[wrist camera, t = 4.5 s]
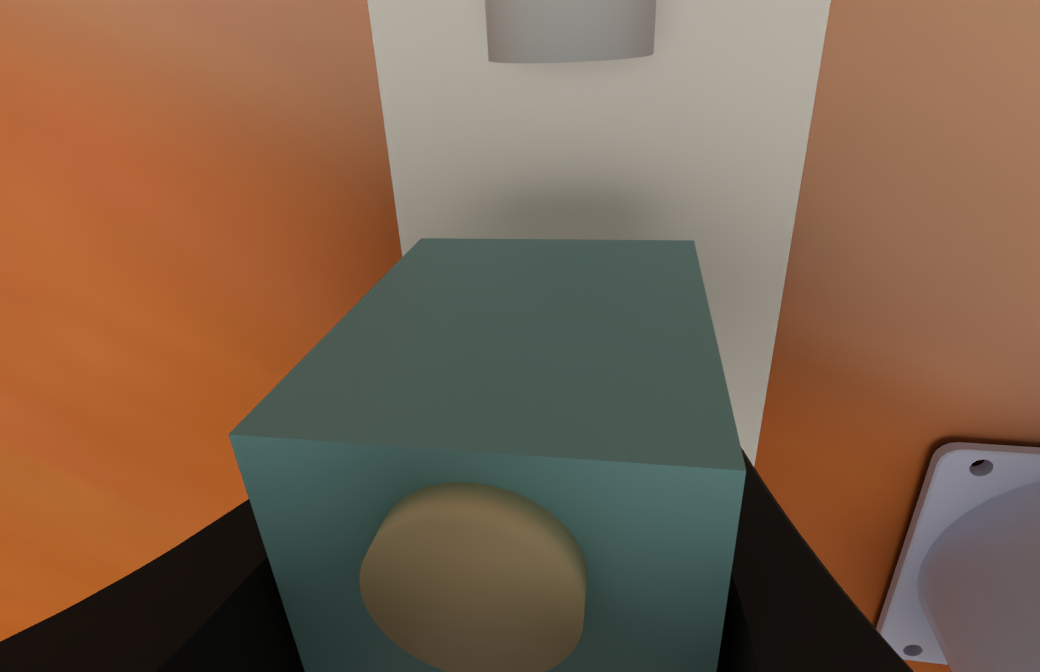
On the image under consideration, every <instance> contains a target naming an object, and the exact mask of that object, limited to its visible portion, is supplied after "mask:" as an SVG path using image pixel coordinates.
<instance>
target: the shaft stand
mask: <svg viewBox="0 0 1040 672" xmlns="http://www.w3.org/2000/svg"><path fill="white" fill-rule="evenodd" d="M830 3H831V0H368V8H369V15H370V23H371V30H372V37H373V45H374V52H375V59H376V67H377V74H378V82H379V89H380V96H381V104H382V111H383V118H384V126H385V133H386V141H387V148H388V155H389V163H390V170H391V177H392V185H393V192H394V200H395V207H396V214H397V222H398V229H399V237H400V244H401V251H402V257H403V256H404V255H405V254H406V253H407V252H408V251H409V250H410V249H411V248H412V247H413V246H414V245H415V244H416V243H417V242H418V241H419V240H420V239H421V238H454V239H579V240H694V243H695V247H696V252H697V256H698V261H699V265H700V269H701V274H702V278H703V283H704V287H705V291H706V296H707V300H708V305H709V309H710V313H711V318H712V322H713V327H714V331H715V335H716V340H717V344H718V349H719V353H720V357H721V362H722V366H723V371H724V375H725V380H726V384H727V388H728V393H729V397H730V402H731V406H732V410H733V415H734V419H735V424H736V428H737V432H738V437H739V441H740V446H741V448H742V449H743V450H744V452H745V453H746V455H747V457H748V458H749V460H750V462H751V463H752V465H753V466H754V465H755V459H756V453H757V447H758V441H759V434H760V428H761V422H762V416H763V410H764V404H765V398H766V392H767V386H768V380H769V374H770V368H771V361H772V355H773V349H774V343H775V337H776V331H777V325H778V319H779V313H780V307H781V301H782V295H783V288H784V282H785V276H786V270H787V264H788V258H789V252H790V246H791V240H792V234H793V228H794V222H795V215H796V209H797V203H798V197H799V191H800V185H801V179H802V173H803V167H804V161H805V155H806V149H807V142H808V136H809V130H810V124H811V118H812V112H813V106H814V100H815V94H816V88H817V82H818V76H819V69H820V63H821V57H822V51H823V45H824V39H825V33H826V27H827V21H828V15H829V9H830Z"/></svg>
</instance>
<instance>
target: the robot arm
mask: <svg viewBox="0 0 1040 672" xmlns="http://www.w3.org/2000/svg"><path fill="white" fill-rule="evenodd" d="M741 450H742V454H743V459H744V463H745V468H746V476H745V483H744V489H743V496H742V503H741V510H740V517H739V523H738V530H737V537H736V544H735V550H734V557H733V564H732V571H731V577H730V584H729V591H728V598H727V605H726V611H725V618H724V625H723V632H722V638H721V645H720V652H719V659H718V665H717V672H913V670H912V669H911V668H910V667H909V666H908V665H907V664H906V663H905V662H904V661H903V659H904V660H912V661H920V662H928V663H936V664H945V665H948V666H949V668H950V670H951V672H1040V447H1025V446H1010V445H994V444H979V443H964V442H954V443H948V444H946V445H943V446H941V447H940V448H938V449H937V450H936V451H935V453H934V454H933V456H932V458H931V462H930V465H929V468H928V471H927V474H926V477H925V480H924V483H923V486H922V489H921V492H920V495H919V498H918V501H917V504H916V508H915V511H914V514H913V517H912V520H911V523H910V526H909V529H908V532H907V535H906V538H905V541H904V544H903V547H902V550H901V553H900V557H899V560H898V563H897V566H896V569H895V572H894V575H893V578H892V581H891V584H890V587H889V590H888V593H887V596H886V599H885V603H884V606H883V609H882V612H881V615H880V618H879V621H878V624H877V627H876V628H875V627H874V626H873V625H872V624H871V623H870V621H869V620H868V619H867V618H866V617H865V615H864V614H863V613H862V612H861V611H860V610H859V608H858V607H857V606H856V605H855V604H854V602H853V601H852V600H851V599H850V598H849V596H848V595H847V594H846V593H845V591H844V590H843V589H842V588H841V586H840V585H839V584H838V583H837V582H836V580H835V579H834V578H833V577H832V575H831V574H830V573H829V571H828V570H827V569H826V567H825V566H824V565H823V564H822V562H821V561H820V560H819V558H818V557H817V556H816V554H815V553H814V552H813V550H812V549H811V548H810V546H809V545H808V544H807V543H806V541H805V540H804V539H803V537H802V536H801V535H800V533H799V532H798V531H797V529H796V528H795V526H794V525H793V524H792V522H791V521H790V520H789V518H788V517H787V515H786V514H785V513H784V511H783V510H782V508H781V507H780V505H779V504H778V502H777V501H776V499H775V498H774V497H773V495H772V494H771V492H770V491H769V489H768V488H767V486H766V485H765V483H764V482H763V480H762V479H761V477H760V476H759V474H758V473H757V471H756V469H755V468H754V466H753V465H752V463H751V462H750V460H749V458H748V457H747V455H746V453H745V452H744V450H743V449H742V448H741ZM978 460H984V462H983V463H982V464H980V465H978V466H971V465H972V463H974V462H976V461H978ZM0 672H305V671H304V668H303V665H302V662H301V658H300V655H299V652H298V649H297V646H296V643H295V640H294V637H293V634H292V630H291V627H290V624H289V621H288V618H287V615H286V612H285V609H284V606H283V602H282V599H281V596H280V593H279V590H278V587H277V584H276V581H275V578H274V575H273V571H272V568H271V565H270V562H269V559H268V556H267V553H266V550H265V547H264V543H263V540H262V537H261V534H260V531H259V528H258V525H257V522H256V519H255V515H254V512H253V509H252V506H251V503H250V500H249V499H248V500H247V501H245V502H244V503H242V504H241V505H239V506H238V507H236V508H235V509H233V510H232V511H230V512H228V513H227V514H225V515H224V516H222V517H221V518H219V519H218V520H216V521H215V522H213V523H212V524H210V525H208V526H207V527H205V528H204V529H202V530H201V531H199V532H198V533H196V534H195V535H193V536H192V537H190V538H188V539H187V540H185V541H184V542H182V543H181V544H179V545H178V546H176V547H175V548H173V549H171V550H170V551H168V552H166V553H165V554H163V555H161V556H160V557H158V558H156V559H155V560H153V561H151V562H150V563H148V564H146V565H145V566H143V567H141V568H139V569H138V570H136V571H134V572H133V573H131V574H129V575H127V576H126V577H124V578H122V579H120V580H118V581H117V582H115V583H113V584H111V585H109V586H107V587H106V588H104V589H102V590H100V591H98V592H97V593H95V594H93V595H91V596H89V597H88V598H86V599H84V600H82V601H80V602H79V603H77V604H75V605H73V606H71V607H69V608H67V609H65V610H63V611H62V612H60V613H58V614H56V615H54V616H52V617H50V618H48V619H46V620H43V621H41V622H39V623H37V624H35V625H33V626H31V627H29V628H27V629H25V630H23V631H21V632H19V633H17V634H15V635H13V636H11V637H9V638H7V639H5V640H3V641H1V642H0Z"/></svg>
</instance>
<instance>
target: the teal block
mask: <svg viewBox="0 0 1040 672" xmlns="http://www.w3.org/2000/svg"><path fill="white" fill-rule="evenodd" d="M228 435H229V438H230V441H231V444H232V447H233V450H234V453H235V456H236V460H237V463H238V466H239V469H240V472H241V475H242V478H243V481H244V484H245V488H246V491H247V494H248V497H249V500H250V503H251V506H252V509H253V512H254V515H255V519H256V522H257V525H258V528H259V531H260V534H261V537H262V540H263V543H264V547H265V550H266V553H267V556H268V559H269V562H270V565H271V568H272V571H273V575H274V578H275V581H276V584H277V587H278V590H279V593H280V596H281V599H282V602H283V606H284V609H285V612H286V615H287V618H288V621H289V624H290V627H291V630H292V634H293V637H294V640H295V643H296V646H297V649H298V652H299V655H300V658H301V662H302V665H303V668H304V671H305V672H717V665H718V659H719V652H720V645H721V638H722V632H723V625H724V618H725V611H726V605H727V598H728V591H729V584H730V577H731V571H732V564H733V557H734V550H735V544H736V537H737V530H738V523H739V517H740V510H741V503H742V496H743V489H744V483H745V476H746V468H745V463H744V459H743V454H742V450H741V446H740V441H739V437H738V432H737V428H736V424H735V419H734V415H733V410H732V406H731V402H730V397H729V393H728V388H727V384H726V380H725V375H724V371H723V366H722V362H721V357H720V353H719V349H718V344H717V340H716V335H715V331H714V327H713V322H712V318H711V313H710V309H709V305H708V300H707V296H706V291H705V287H704V283H703V278H702V274H701V269H700V265H699V261H698V256H697V252H696V247H695V243H694V240H579V239H454V238H421V239H420V240H419V241H418V242H417V243H416V244H415V245H414V246H413V247H412V248H411V249H410V250H409V251H408V252H407V253H406V254H405V255H404V256H403V257H402V258H401V259H400V260H399V261H398V262H397V263H396V264H395V265H394V266H393V267H392V268H391V269H390V270H389V271H388V272H387V273H386V274H385V275H384V276H383V278H382V279H381V280H380V281H379V282H378V283H377V284H376V285H375V286H374V287H373V288H372V289H371V290H370V291H369V292H368V293H367V294H366V295H365V296H364V297H363V298H362V299H361V300H360V301H359V302H358V303H357V304H356V305H355V306H354V307H353V308H352V309H351V310H350V311H349V312H348V313H347V314H346V315H345V316H344V317H343V318H342V319H341V320H340V321H339V322H338V323H337V324H336V325H335V326H334V327H333V328H332V329H331V330H330V332H329V333H328V334H327V335H326V336H325V337H324V338H323V339H322V340H321V341H320V342H319V343H318V344H317V345H316V346H315V347H314V348H313V349H312V350H311V351H310V352H309V353H308V354H307V355H306V356H305V357H304V358H303V359H302V360H301V361H300V362H299V363H298V364H297V365H296V366H295V367H294V368H293V369H292V370H291V371H290V372H289V373H288V374H287V375H286V376H285V377H284V378H283V379H282V380H281V381H280V382H279V383H278V384H277V386H276V387H275V388H274V389H273V390H272V391H271V392H270V393H269V394H268V395H267V396H266V397H265V398H264V399H263V400H262V401H261V402H260V403H259V404H258V405H257V406H256V407H255V408H254V409H253V410H252V411H251V412H250V413H249V414H248V415H247V416H246V417H245V418H244V419H243V420H242V421H241V422H240V423H239V424H238V425H237V426H236V427H235V428H234V429H233V430H232V431H231V432H230V433H229V434H228Z"/></svg>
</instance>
